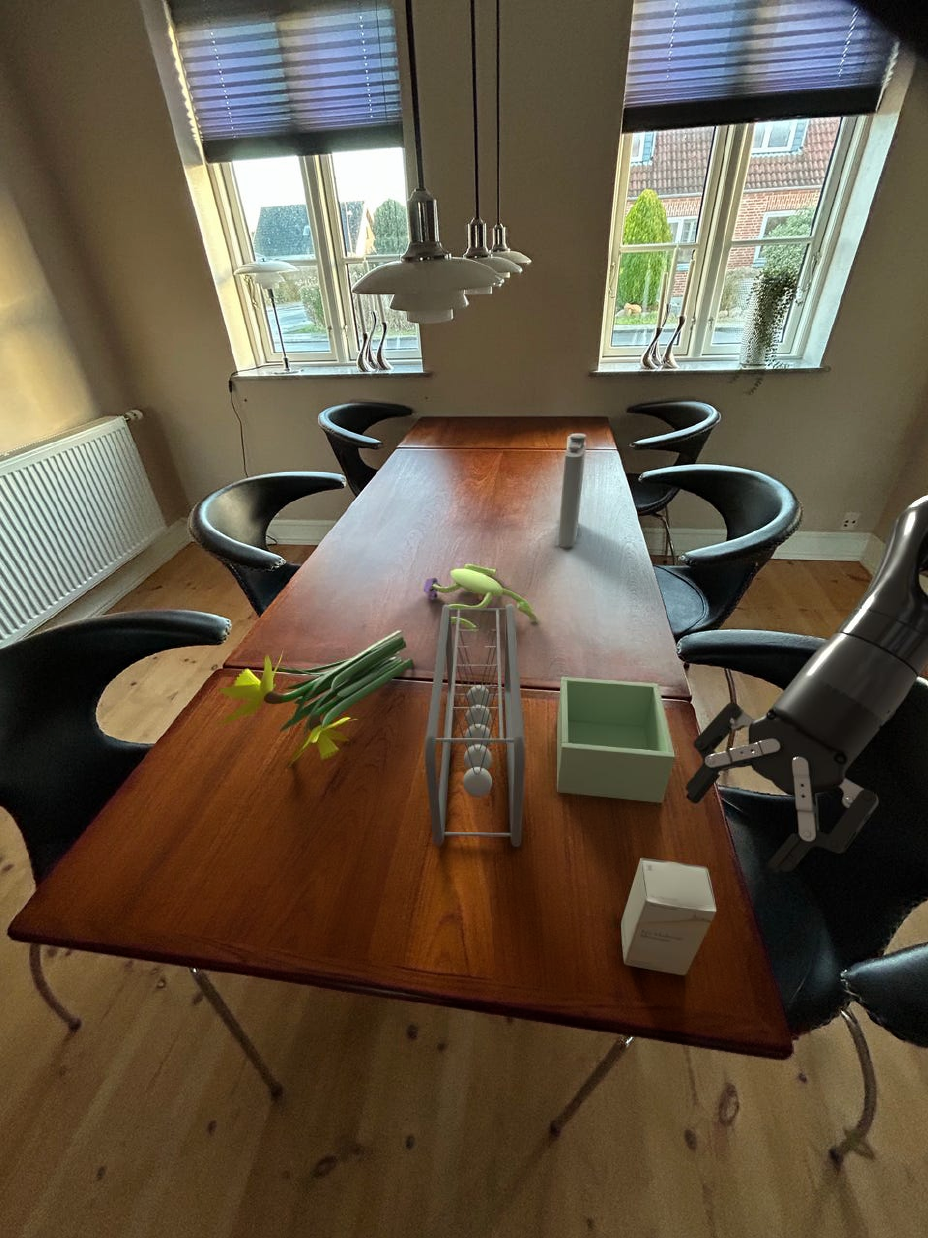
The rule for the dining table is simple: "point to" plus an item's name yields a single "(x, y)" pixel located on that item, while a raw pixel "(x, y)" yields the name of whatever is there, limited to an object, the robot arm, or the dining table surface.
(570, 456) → the flask
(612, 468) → the dining table surface
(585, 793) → the open square storage box
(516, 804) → the newton's cradle
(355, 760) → the dining table surface
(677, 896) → the cosmetic box
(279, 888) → the dining table surface
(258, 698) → the daffodil flowers
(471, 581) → the figurine
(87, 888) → the dining table surface
